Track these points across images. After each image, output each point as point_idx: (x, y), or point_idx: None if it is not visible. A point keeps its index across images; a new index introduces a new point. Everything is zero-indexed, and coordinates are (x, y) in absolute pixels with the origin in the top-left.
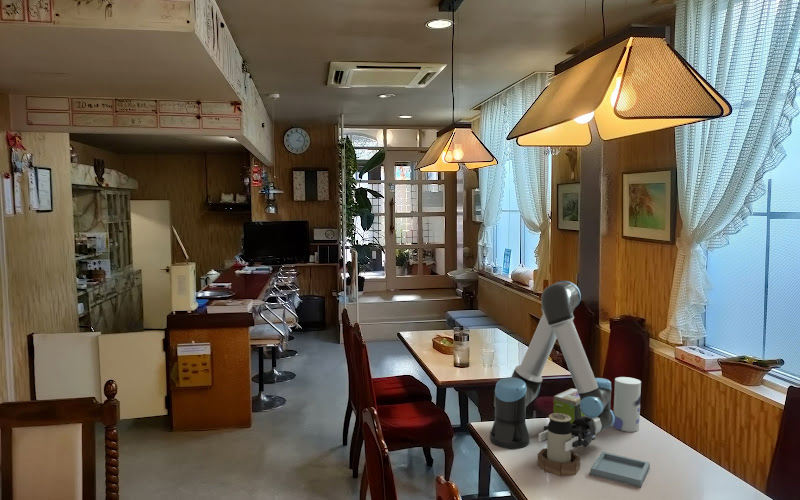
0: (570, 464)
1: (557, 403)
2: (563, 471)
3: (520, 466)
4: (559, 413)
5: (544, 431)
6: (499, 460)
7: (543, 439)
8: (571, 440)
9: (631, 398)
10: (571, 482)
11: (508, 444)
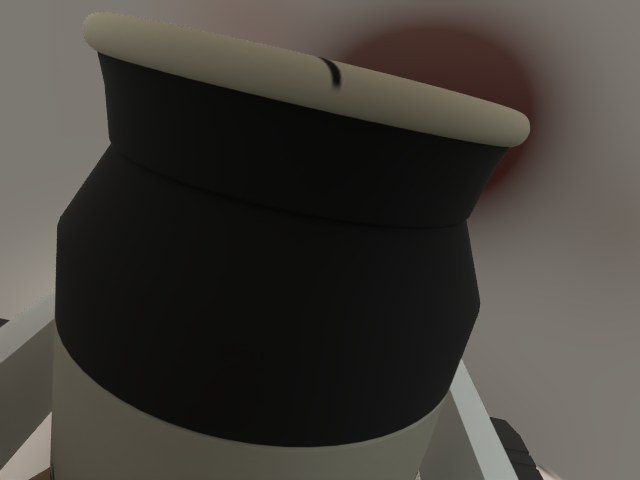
0: (47, 472)
1: None
2: None
3: (418, 474)
4: (457, 94)
5: (469, 389)
6: (546, 476)
7: None
8: (48, 306)
9: None
10: (33, 449)
11: None
